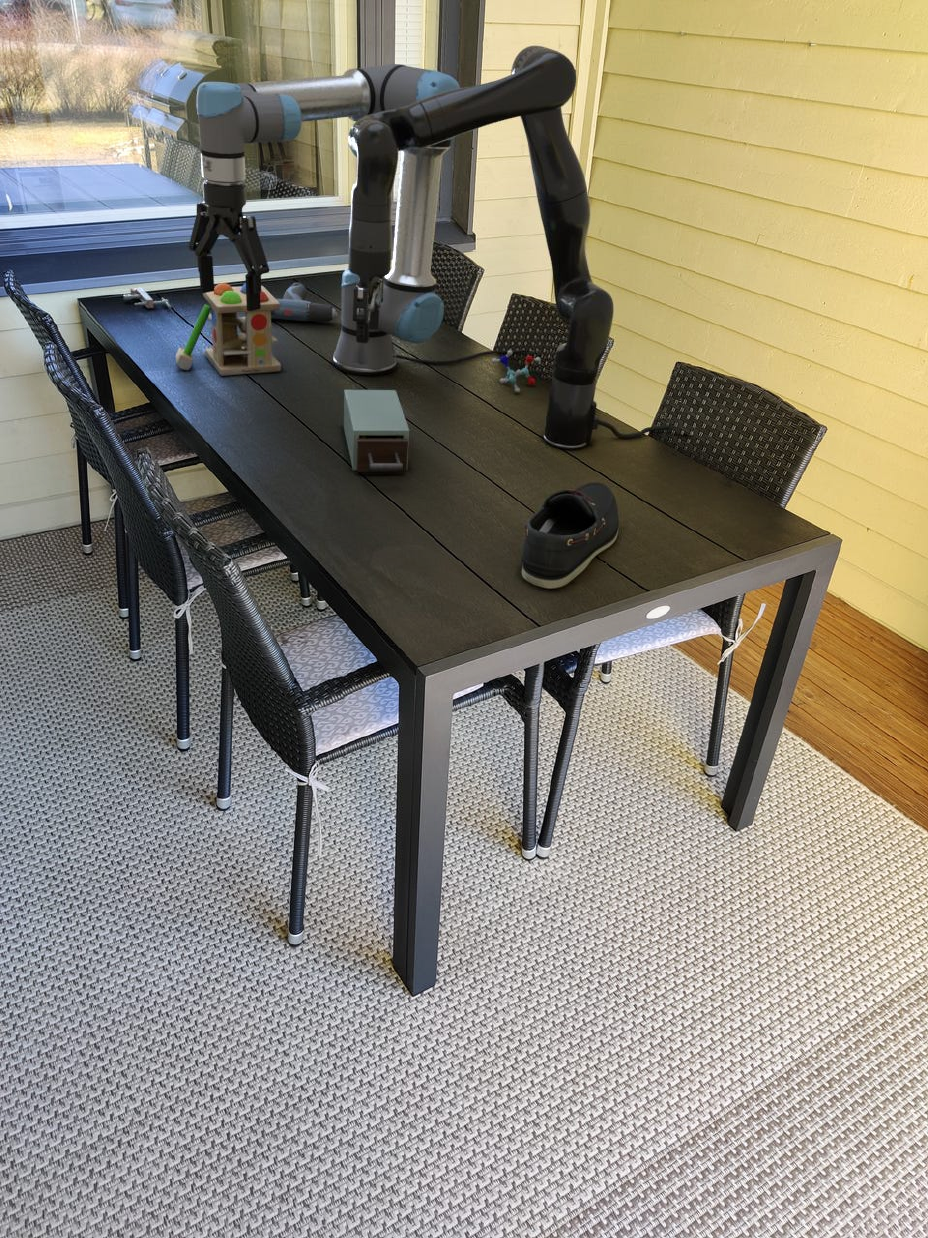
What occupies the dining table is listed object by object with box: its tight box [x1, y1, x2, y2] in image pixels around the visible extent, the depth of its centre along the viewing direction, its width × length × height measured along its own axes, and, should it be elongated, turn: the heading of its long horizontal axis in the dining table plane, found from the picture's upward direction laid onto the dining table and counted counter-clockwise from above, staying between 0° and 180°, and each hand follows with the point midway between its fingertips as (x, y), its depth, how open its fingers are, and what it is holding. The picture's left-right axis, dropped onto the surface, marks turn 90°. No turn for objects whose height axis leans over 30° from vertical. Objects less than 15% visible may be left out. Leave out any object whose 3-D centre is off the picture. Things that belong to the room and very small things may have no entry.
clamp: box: [122, 287, 173, 309], centre depth 261 cm, size 15×2×10 cm
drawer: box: [356, 435, 409, 473], centre depth 192 cm, size 25×10×6 cm, turn 11°
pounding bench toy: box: [174, 282, 282, 377], centre depth 225 cm, size 23×14×18 cm, turn 116°
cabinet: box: [343, 389, 410, 471], centre depth 197 cm, size 20×11×8 cm, turn 11°
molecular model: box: [491, 349, 541, 394], centre depth 232 cm, size 12×10×10 cm
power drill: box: [271, 282, 338, 322], centre depth 265 cm, size 5×19×20 cm
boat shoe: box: [520, 481, 620, 590], centre depth 170 cm, size 13×33×10 cm, turn 147°
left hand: (230, 300), depth 187 cm, fingers open, 13 cm apart
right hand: (367, 335), depth 182 cm, fingers open, 8 cm apart
